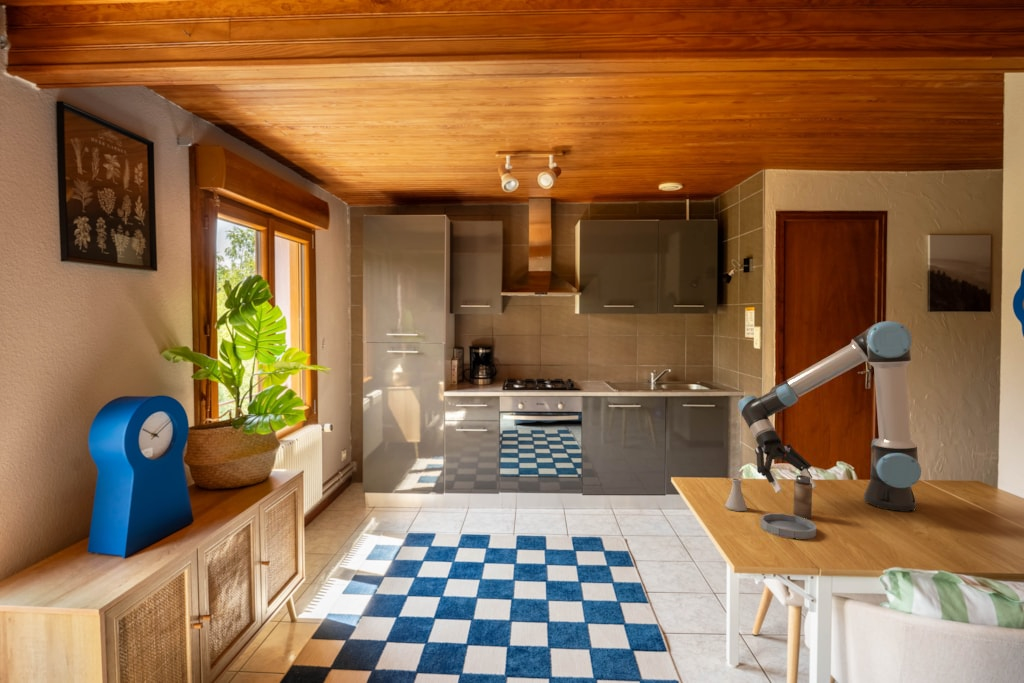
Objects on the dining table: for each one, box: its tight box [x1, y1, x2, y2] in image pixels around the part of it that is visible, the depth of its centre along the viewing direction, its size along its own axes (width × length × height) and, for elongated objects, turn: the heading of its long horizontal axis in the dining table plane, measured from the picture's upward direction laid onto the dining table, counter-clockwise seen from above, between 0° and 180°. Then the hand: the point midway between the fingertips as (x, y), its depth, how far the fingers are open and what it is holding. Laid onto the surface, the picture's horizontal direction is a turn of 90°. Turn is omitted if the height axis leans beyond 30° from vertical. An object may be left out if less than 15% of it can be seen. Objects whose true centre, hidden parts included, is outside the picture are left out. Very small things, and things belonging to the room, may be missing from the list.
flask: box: [724, 477, 748, 512], centre depth 183 cm, size 7×7×10 cm
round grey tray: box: [760, 512, 817, 540], centre depth 164 cm, size 15×15×2 cm
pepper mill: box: [792, 474, 813, 520], centre depth 176 cm, size 5×5×13 cm
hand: (796, 489), depth 178 cm, fingers open, 13 cm apart
